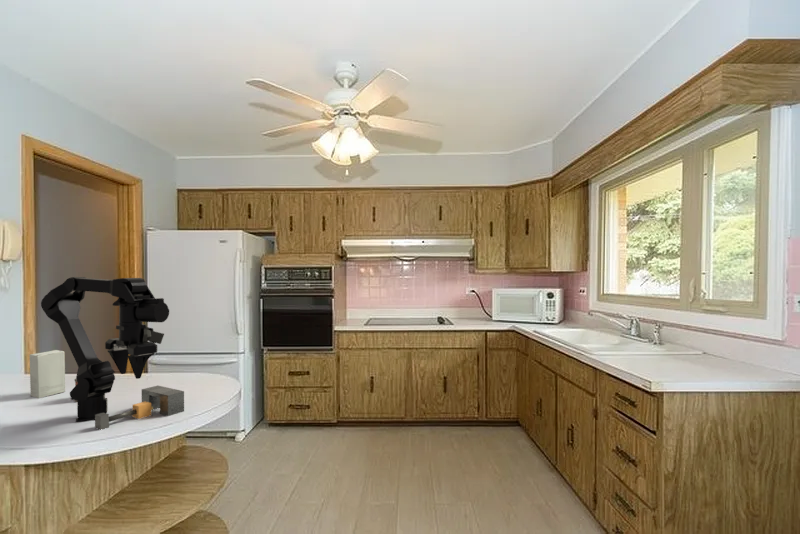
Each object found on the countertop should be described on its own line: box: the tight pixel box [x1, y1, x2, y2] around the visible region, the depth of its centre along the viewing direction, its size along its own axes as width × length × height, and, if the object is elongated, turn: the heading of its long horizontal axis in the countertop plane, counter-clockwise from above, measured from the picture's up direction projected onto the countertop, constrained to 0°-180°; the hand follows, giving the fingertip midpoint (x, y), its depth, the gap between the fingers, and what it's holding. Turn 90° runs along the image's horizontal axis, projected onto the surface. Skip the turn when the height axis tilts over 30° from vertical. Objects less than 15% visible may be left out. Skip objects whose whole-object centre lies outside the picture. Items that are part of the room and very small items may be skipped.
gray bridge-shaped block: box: [141, 385, 185, 417], centre depth 128 cm, size 5×14×6 cm, turn 60°
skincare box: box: [29, 349, 66, 399], centre depth 148 cm, size 8×6×15 cm
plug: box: [94, 401, 153, 431], centre depth 119 cm, size 14×3×4 cm, turn 149°
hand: (130, 376), depth 120 cm, fingers open, 9 cm apart
